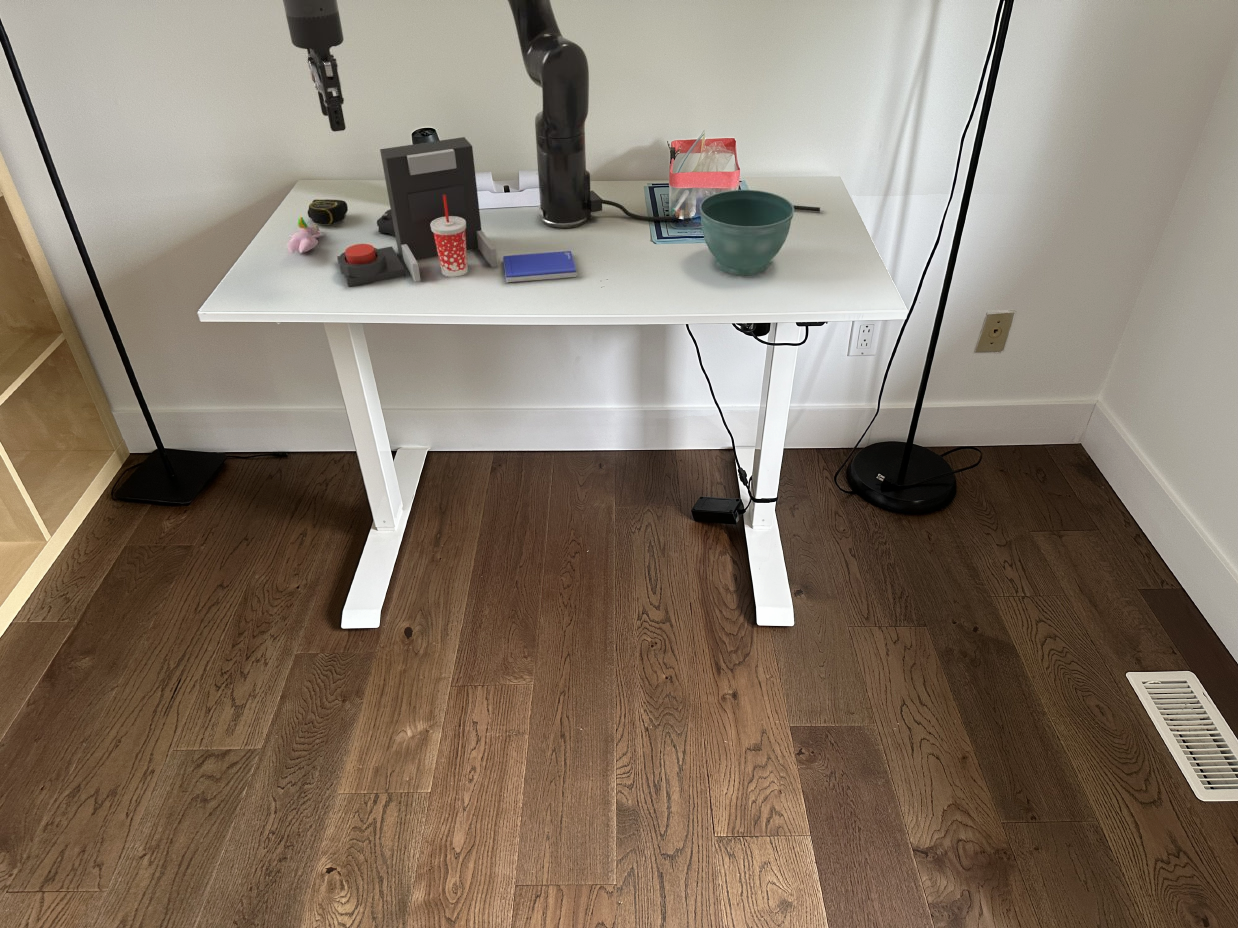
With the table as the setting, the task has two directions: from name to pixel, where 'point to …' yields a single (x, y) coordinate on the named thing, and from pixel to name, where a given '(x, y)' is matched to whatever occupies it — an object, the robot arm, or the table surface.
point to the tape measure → (327, 211)
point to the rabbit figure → (304, 238)
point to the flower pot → (745, 229)
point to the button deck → (372, 268)
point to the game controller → (386, 223)
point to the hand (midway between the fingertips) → (334, 122)
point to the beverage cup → (450, 243)
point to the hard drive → (539, 266)
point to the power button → (360, 254)
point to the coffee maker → (432, 197)
